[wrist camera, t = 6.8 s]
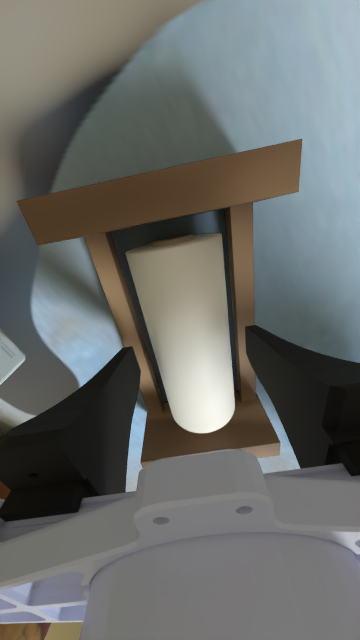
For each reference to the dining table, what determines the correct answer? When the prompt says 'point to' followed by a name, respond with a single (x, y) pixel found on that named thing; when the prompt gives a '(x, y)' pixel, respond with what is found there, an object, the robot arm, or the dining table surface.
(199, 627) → the robot arm
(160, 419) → the holder
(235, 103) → the dining table surface
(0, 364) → the tea box
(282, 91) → the dining table surface
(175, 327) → the cylinder
